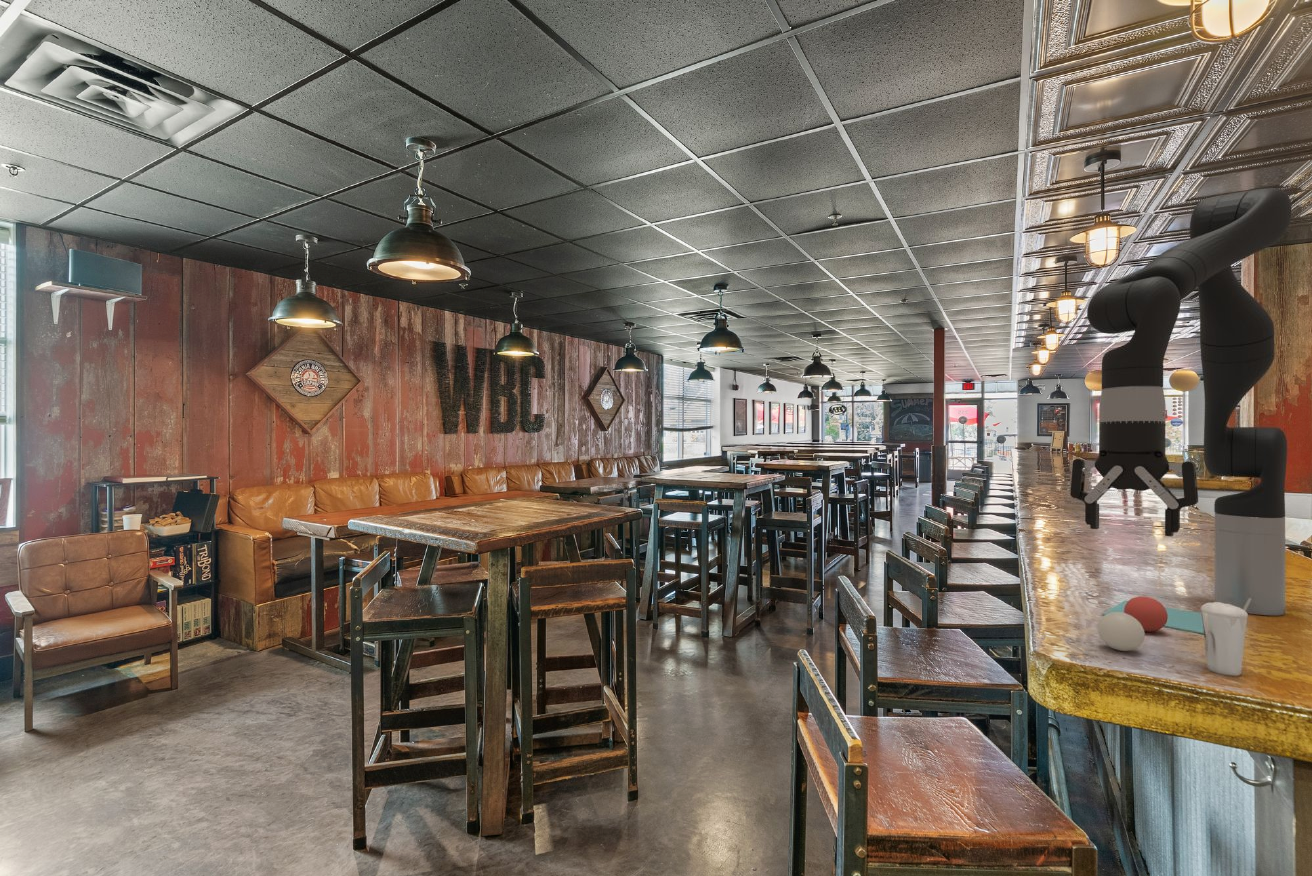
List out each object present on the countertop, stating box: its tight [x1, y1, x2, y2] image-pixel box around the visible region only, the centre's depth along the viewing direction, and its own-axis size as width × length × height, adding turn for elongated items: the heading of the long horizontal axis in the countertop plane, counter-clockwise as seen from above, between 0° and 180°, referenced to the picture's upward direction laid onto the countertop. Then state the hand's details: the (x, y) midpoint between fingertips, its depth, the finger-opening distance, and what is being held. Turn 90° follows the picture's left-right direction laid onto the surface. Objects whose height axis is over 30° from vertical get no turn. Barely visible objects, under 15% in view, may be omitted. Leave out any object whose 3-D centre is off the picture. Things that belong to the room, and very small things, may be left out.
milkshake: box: [1200, 598, 1252, 677], centre depth 80 cm, size 5×5×10 cm
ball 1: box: [1097, 612, 1146, 652], centre depth 88 cm, size 6×6×6 cm
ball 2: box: [1124, 595, 1168, 632], centre depth 97 cm, size 6×6×6 cm
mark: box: [1102, 600, 1204, 635], centre depth 105 cm, size 14×14×1 cm
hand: (1130, 532), depth 86 cm, fingers open, 8 cm apart
